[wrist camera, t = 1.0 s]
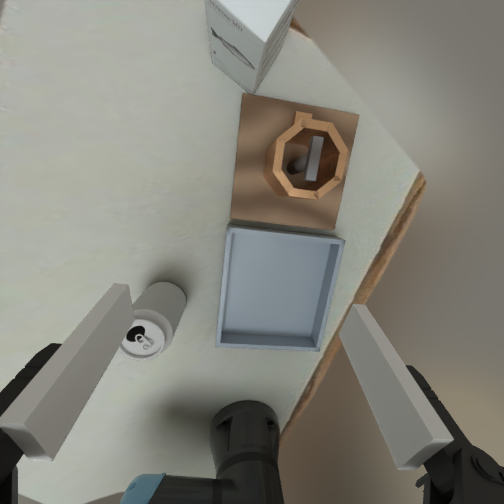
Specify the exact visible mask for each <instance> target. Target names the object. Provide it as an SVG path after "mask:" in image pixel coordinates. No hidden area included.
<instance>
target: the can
mask: <svg viewBox="0 0 504 504" xmlns="http://www.w3.org/2000/svg"><path fill="white" fill-rule="evenodd" d="M185 306H186V298H185V295H184V293H183V291H182V290H181V289H180V288H179V287H178V286H176V285H175V284H172V283H169V282H158V283H154V284H152V285H151V286H149V287H148V288H147V289H146V290H145V291H144V292H143V294H142V295H141V296H140V297H139V298H138V299H137V300H136V302H135V303H134V304H133V305H132V307H133V312H134V317H135V321H134V322H133V324H132V326H131V328H130V329H129V331H128V333H127V334H126V336H125V338H124V340H123V341H122V343H121V345H120V346H119V348H118V349H119V351H120V352H121V353H122V354H123V355H125V356H127V357H129V358H130V359H134V360H149V359H152V358H154V357H156V356H157V355H159V354H160V353H162V352H163V351H165V350H166V349H167V348H168V346H169V345H170V344H171V341H172V339H173V336H174V334H175V331H176V329H177V326H178V324H179V321H180V319H181V316H182V314H183V311H184V309H185Z"/></svg>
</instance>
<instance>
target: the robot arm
mask: <svg viewBox="0 0 504 504" xmlns="http://www.w3.org/2000/svg"><path fill="white" fill-rule="evenodd" d="M134 321H135V317H134V312H133V307H132V301H131V296H130V291H129V285H127V284H115V283H114V284H113V285H112V287H111V288H110V289H109V290H108V291H107V292H106V294H105V295H104V296H103V297H102V298H101V299H100V301H99V302H98V303H97V304H96V305H95V306H94V308H93V309H92V310H91V311H90V312H89V314H88V315H87V316H86V317H85V318H84V319H83V321H82V322H81V323H80V324H79V325H78V326H77V328H76V329H75V330H74V331H73V332H72V333H71V335H70V336H69V337H68V338H67V339H66V340H65V342H64V343H63V344H56V343H51V344H50V345H48V346H47V347H45V348H44V349H42V350H41V351H40V352H38V353H37V354H36V355H35V356H34V357H33V358H32V359H31V360H30V361H29V362H28V363H27V364H26V365H25V368H23V369H22V370H21V371H20V372H19V373H18V374H17V375H16V376H15V379H12V380H11V382H10V383H9V384H8V385H7V386H6V387H5V388H4V389H3V390H2V391H1V392H0V504H18V469H17V466H16V464H17V463H18V461H19V460H20V458H21V457H22V455H23V454H25V455H26V457H27V458H28V459H29V460H37V461H53V460H54V458H55V456H56V454H57V453H58V451H59V449H60V448H61V446H62V444H63V442H64V441H65V439H66V437H67V436H68V434H69V432H70V430H71V429H72V427H73V425H74V424H75V422H76V420H77V418H78V417H79V415H80V413H81V412H82V410H83V408H84V406H85V405H86V403H87V401H88V400H89V398H90V396H91V394H92V393H93V391H94V389H95V388H96V386H97V384H98V382H99V381H100V379H101V377H102V376H103V374H104V372H105V370H106V369H107V367H108V365H109V364H110V362H111V360H112V358H113V357H114V355H115V353H116V352H117V350H118V348H119V346H120V345H121V343H122V341H123V340H124V338H125V336H126V334H127V333H128V331H129V329H130V328H131V326H132V324H133V322H134ZM339 337H340V339H341V342H342V344H343V346H344V348H345V351H346V353H347V355H348V357H349V360H350V362H351V364H352V367H353V369H354V371H355V373H356V376H357V378H358V380H359V383H360V385H361V387H362V389H363V392H364V394H365V396H366V398H367V401H368V403H369V405H370V407H371V410H372V412H373V414H374V417H375V419H376V421H377V424H378V426H379V428H380V430H381V433H382V435H383V437H384V439H385V442H386V444H387V446H388V449H389V451H390V453H391V456H392V457H393V460H394V462H395V465H396V467H397V469H398V470H416V469H417V468H419V467H420V466H421V465H422V464H423V465H424V466H425V468H426V470H427V472H428V473H427V474H425V475H424V476H422V477H421V478H420V479H418V480H417V482H416V486H417V487H418V488H419V487H421V486H422V485H423V484H424V491H423V492H424V497H423V504H504V467H502V466H499V465H498V464H497V462H496V461H495V460H494V459H493V458H492V457H491V456H489V455H488V454H487V453H485V452H484V451H483V450H481V449H479V448H477V447H475V446H473V445H472V444H471V443H470V442H469V441H468V439H467V438H466V437H465V435H464V434H463V432H462V431H461V430H460V428H459V427H458V425H457V424H456V422H455V421H454V420H453V418H452V417H451V415H450V414H449V412H448V411H447V410H446V409H445V407H444V405H443V404H442V403H441V401H439V400H438V397H437V395H436V394H435V393H434V391H433V390H431V387H430V386H429V384H428V383H427V381H426V380H425V379H424V377H423V376H422V375H421V374H420V373H419V372H418V371H417V370H416V369H415V368H414V367H413V366H408V365H405V364H404V363H403V362H402V360H401V359H400V357H399V356H398V354H397V352H396V351H395V349H394V348H393V346H392V345H391V343H390V342H389V340H388V339H387V337H386V336H385V334H384V333H383V331H382V330H381V328H380V327H379V325H378V324H377V322H376V321H375V319H374V318H373V316H372V315H371V313H370V312H369V310H368V309H367V307H366V306H365V305H361V304H353V305H352V307H351V309H350V311H349V313H348V316H347V318H346V320H345V322H344V324H343V326H342V329H341V331H340V333H339ZM279 441H280V428H279V423H278V419H277V416H276V414H275V413H274V411H273V410H272V409H271V408H270V407H268V406H266V405H265V404H262V403H259V402H255V401H242V402H237V403H234V404H231V405H229V406H227V407H225V408H224V409H222V410H221V411H220V412H219V413H218V414H217V415H216V416H215V418H214V419H213V421H212V424H211V430H210V446H211V450H212V455H213V459H214V464H215V468H216V479H211V478H200V477H186V476H172V475H166V473H162V474H142V475H139V476H138V477H136V478H135V479H134V480H133V481H132V482H131V483H130V485H129V486H128V488H127V490H126V491H125V493H124V495H123V497H122V499H121V501H120V503H119V504H285V503H284V497H283V492H282V486H281V481H280V476H279V470H278V453H279Z"/></svg>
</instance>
